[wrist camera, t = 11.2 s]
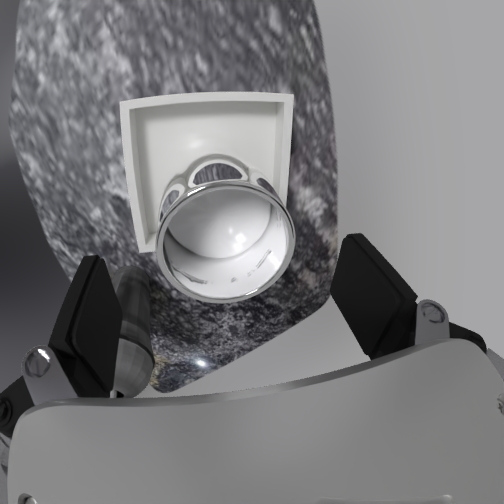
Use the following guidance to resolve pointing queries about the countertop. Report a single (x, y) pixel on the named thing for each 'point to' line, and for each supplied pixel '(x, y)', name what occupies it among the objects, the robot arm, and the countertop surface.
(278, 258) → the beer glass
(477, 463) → the robot arm
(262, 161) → the tray
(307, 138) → the countertop surface
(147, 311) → the beverage cup
